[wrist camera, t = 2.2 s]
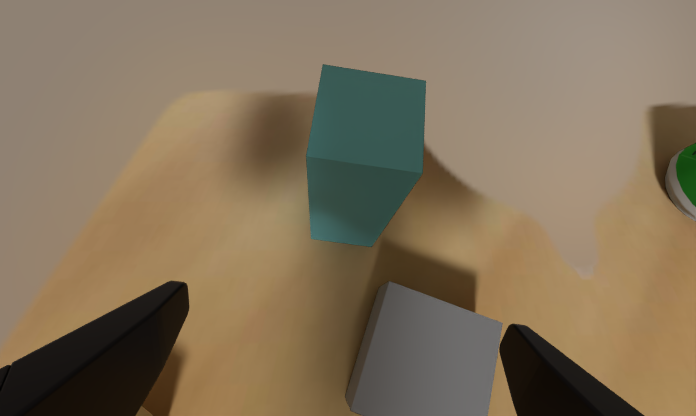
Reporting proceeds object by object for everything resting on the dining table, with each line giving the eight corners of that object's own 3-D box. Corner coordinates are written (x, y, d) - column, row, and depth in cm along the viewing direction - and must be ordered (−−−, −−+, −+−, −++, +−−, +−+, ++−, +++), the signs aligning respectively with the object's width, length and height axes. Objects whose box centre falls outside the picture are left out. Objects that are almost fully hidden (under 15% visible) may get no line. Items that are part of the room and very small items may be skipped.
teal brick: (371, 246, 23) (422, 173, 12) (311, 238, 23) (305, 156, 12) (376, 191, 25) (425, 80, 14) (319, 183, 25) (322, 64, 13)
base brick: (452, 438, 20) (480, 461, 16) (344, 396, 20) (350, 410, 17) (475, 323, 22) (502, 322, 19) (378, 287, 22) (389, 281, 19)
